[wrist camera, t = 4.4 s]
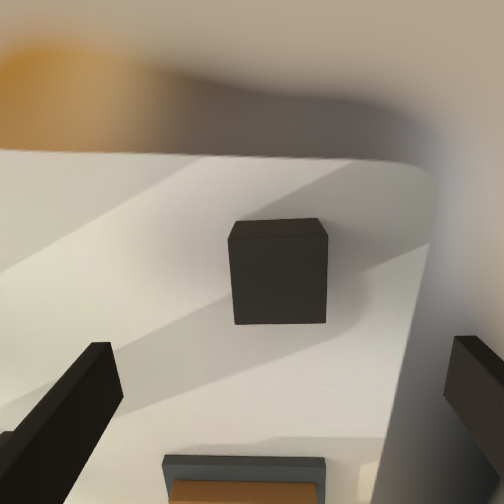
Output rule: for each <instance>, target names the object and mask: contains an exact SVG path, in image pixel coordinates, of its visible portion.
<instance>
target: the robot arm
mask: <svg viewBox="0 0 504 504" xmlns="http://www.w3.org/2000/svg"><path fill="white" fill-rule="evenodd" d="M443 395H444V397H445V398H446V400H447V401H448V402H449V404H450V405H451V407H452V408H453V410H454V411H455V413H456V414H457V415H458V417H459V418H460V419H461V421H462V423H463V424H464V425H465V427H466V428H467V430H468V431H469V433H470V434H471V436H472V437H473V438H474V440H475V441H476V443H477V444H478V445H479V447H480V448H481V450H482V451H483V453H484V454H485V456H486V457H487V458H488V460H489V461H490V463H491V464H492V466H493V467H494V469H495V470H496V471H497V473H498V474H499V476H500V477H501V479H502V480H503V482H504V361H503V360H502V359H501V358H500V357H498V355H496V354H495V353H494V352H493V351H492V350H491V349H490V348H489V347H488V346H487V345H486V344H485V343H483V342H482V341H481V340H480V339H479V338H478V337H477V336H454V341H453V346H452V352H451V356H450V362H449V367H448V372H447V378H446V383H445V388H444V393H443ZM123 397H124V396H123V392H122V388H121V384H120V379H119V375H118V371H117V367H116V363H115V359H114V355H113V351H112V347H111V342H92V343H91V344H90V345H89V346H88V347H87V348H86V350H85V351H84V352H83V353H82V354H81V355H80V356H79V357H78V359H77V360H76V361H75V362H74V363H73V364H72V365H71V366H70V368H69V369H68V370H67V371H66V372H65V373H64V374H63V376H62V377H61V378H60V379H59V380H58V381H57V382H56V383H55V385H54V386H53V387H52V388H51V389H50V390H49V391H48V393H47V394H46V395H45V396H44V397H43V398H42V399H41V400H40V402H39V403H38V404H37V405H36V406H35V407H34V408H33V410H32V411H31V412H30V413H29V414H28V415H27V416H26V417H25V419H24V420H23V421H22V422H21V423H20V424H19V425H18V427H17V428H16V429H15V430H14V431H4V432H3V433H2V434H0V504H63V503H64V501H65V499H66V498H67V496H68V494H69V492H70V491H71V489H72V487H73V485H74V484H75V482H76V480H77V478H78V477H79V475H80V473H81V471H82V469H83V468H84V466H85V464H86V462H87V461H88V459H89V457H90V455H91V454H92V452H93V450H94V448H95V447H96V445H97V443H98V441H99V440H100V438H101V436H102V434H103V432H104V431H105V429H106V427H107V425H108V424H109V422H110V420H111V418H112V417H113V415H114V413H115V411H116V410H117V408H118V406H119V404H120V403H121V401H122V399H123Z"/></svg>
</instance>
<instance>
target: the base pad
mask: <svg viewBox="0 0 504 504" xmlns="http://www.w3.org/2000/svg"><path fill="white" fill-rule="evenodd" d="M162 469H163V473H164V478H165V483H166V488H167V492H168V497H169V500H168V502H169V504H325V480H326V465H325V459H324V458H291V457H231V456H170V455H165V456H164V459H163V462H162Z"/></svg>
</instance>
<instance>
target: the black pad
mask: <svg viewBox="0 0 504 504" xmlns="http://www.w3.org/2000/svg"><path fill="white" fill-rule="evenodd" d="M228 251H229V263H230V275H231V286H232V298H233V310H234V322H235V325H249V324H316V323H326V301H327V265H328V234H327V233H326V231H325V230H324V228H323V226H322V225H321V223H320V221H319V220H318V218H305V219H280V220H255V221H236V222H235V224H234V226H233V228H232V231H231V233H230V235H229V237H228Z"/></svg>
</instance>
